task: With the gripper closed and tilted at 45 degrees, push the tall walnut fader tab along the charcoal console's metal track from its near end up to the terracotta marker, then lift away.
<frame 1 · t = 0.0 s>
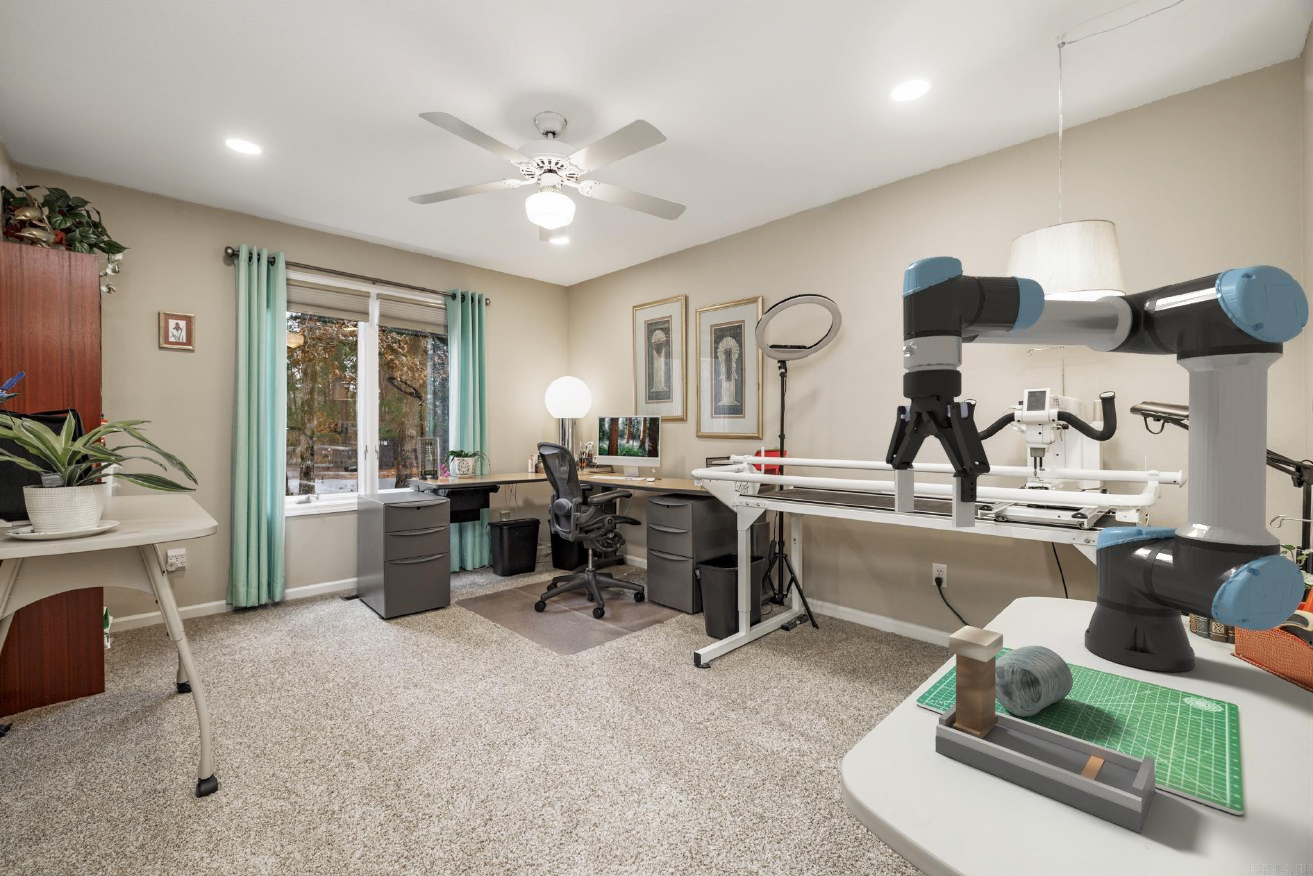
hand: (931, 518, 82), 28 cm above the table, fingers open, 13 cm apart
fader: (975, 681, 74), point 8 cm above the table, slide at 0.0 cm
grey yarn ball: (1029, 706, 85), on the table
console: (1038, 770, 69), on the table
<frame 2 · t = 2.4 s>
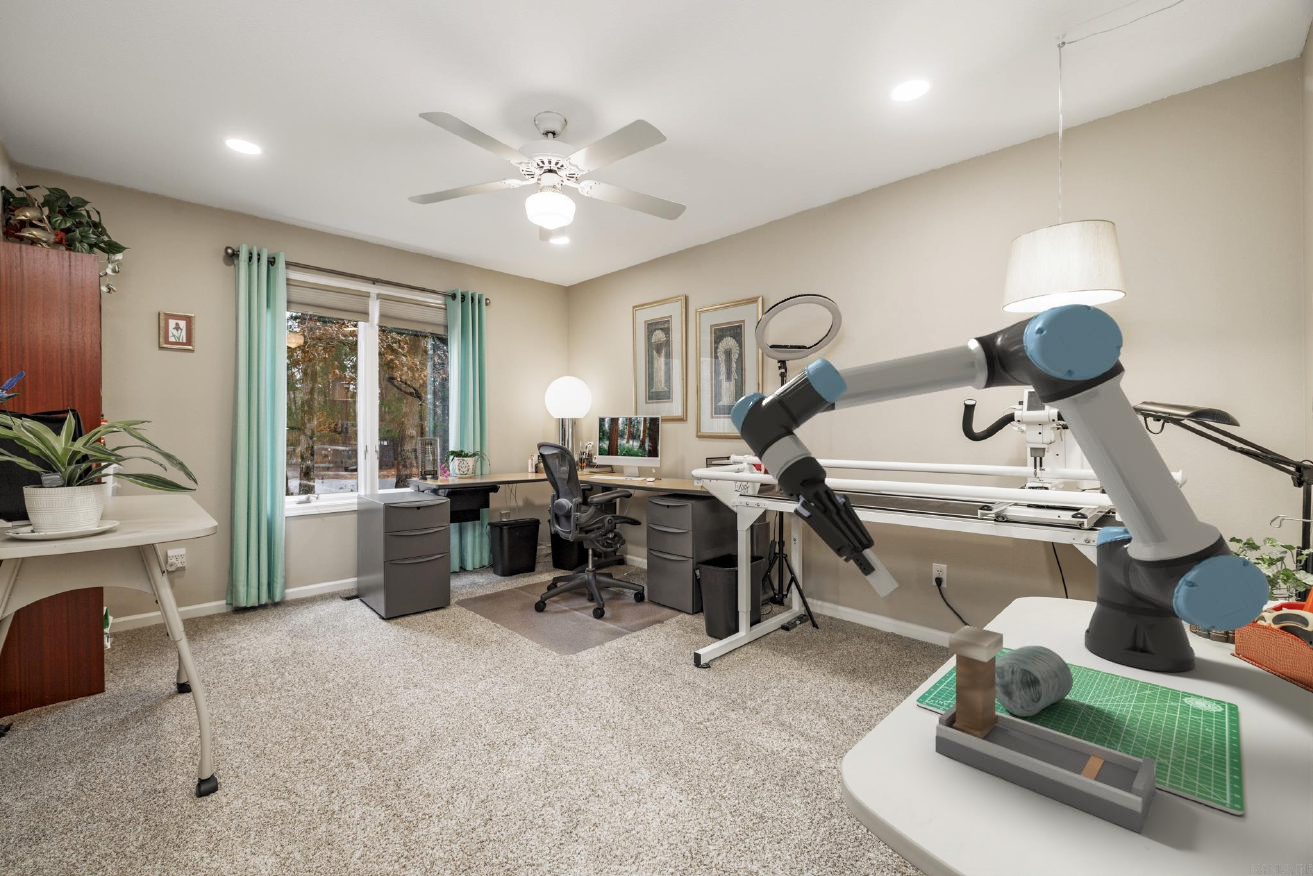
hand: (889, 591, 83), 17 cm above the table, fingers closed
nothing on the table moved.
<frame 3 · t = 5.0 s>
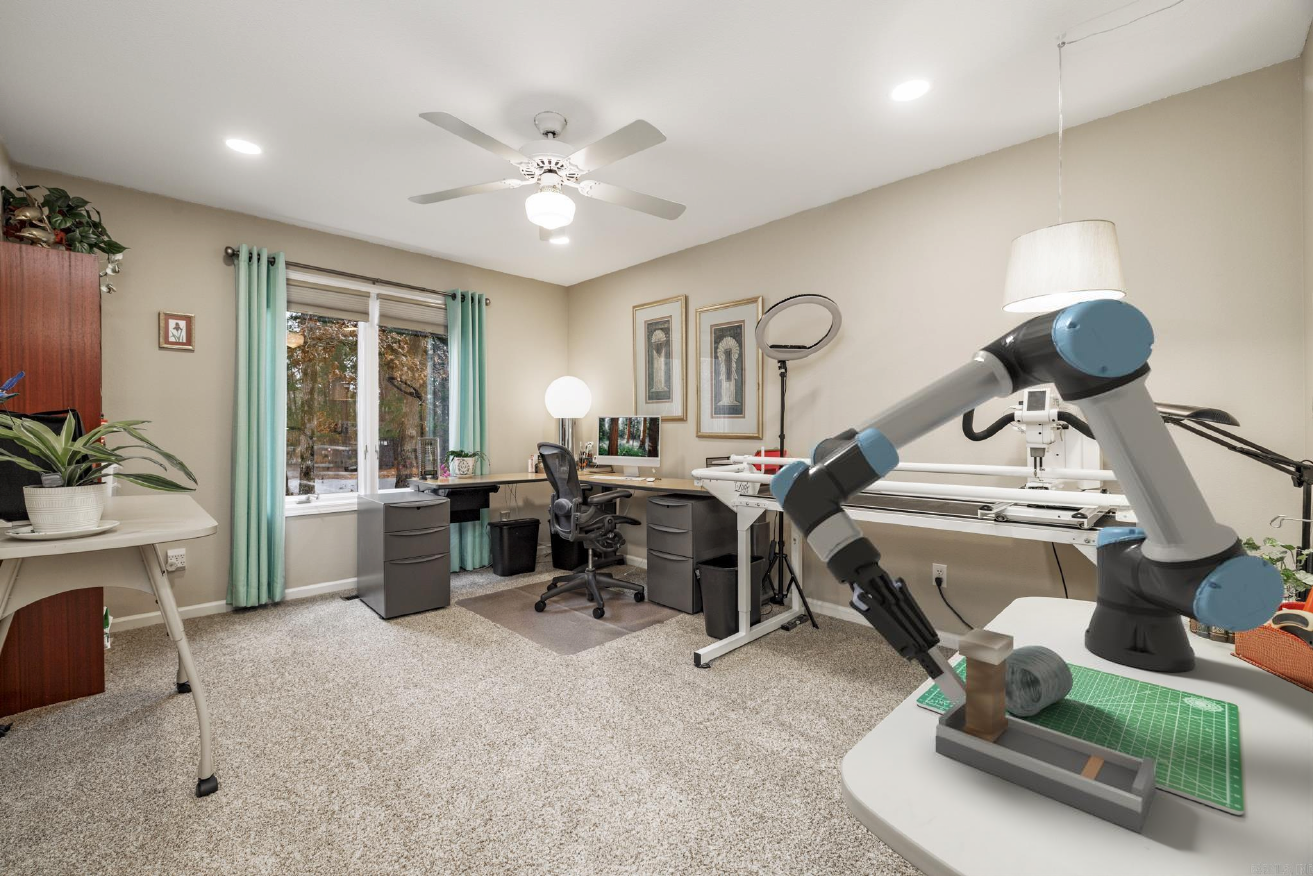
hand: (961, 697, 74), 6 cm above the table, fingers closed
fader: (985, 684, 73), point 8 cm above the table, slide at 1.2 cm, touching gripper
everything else where it was.
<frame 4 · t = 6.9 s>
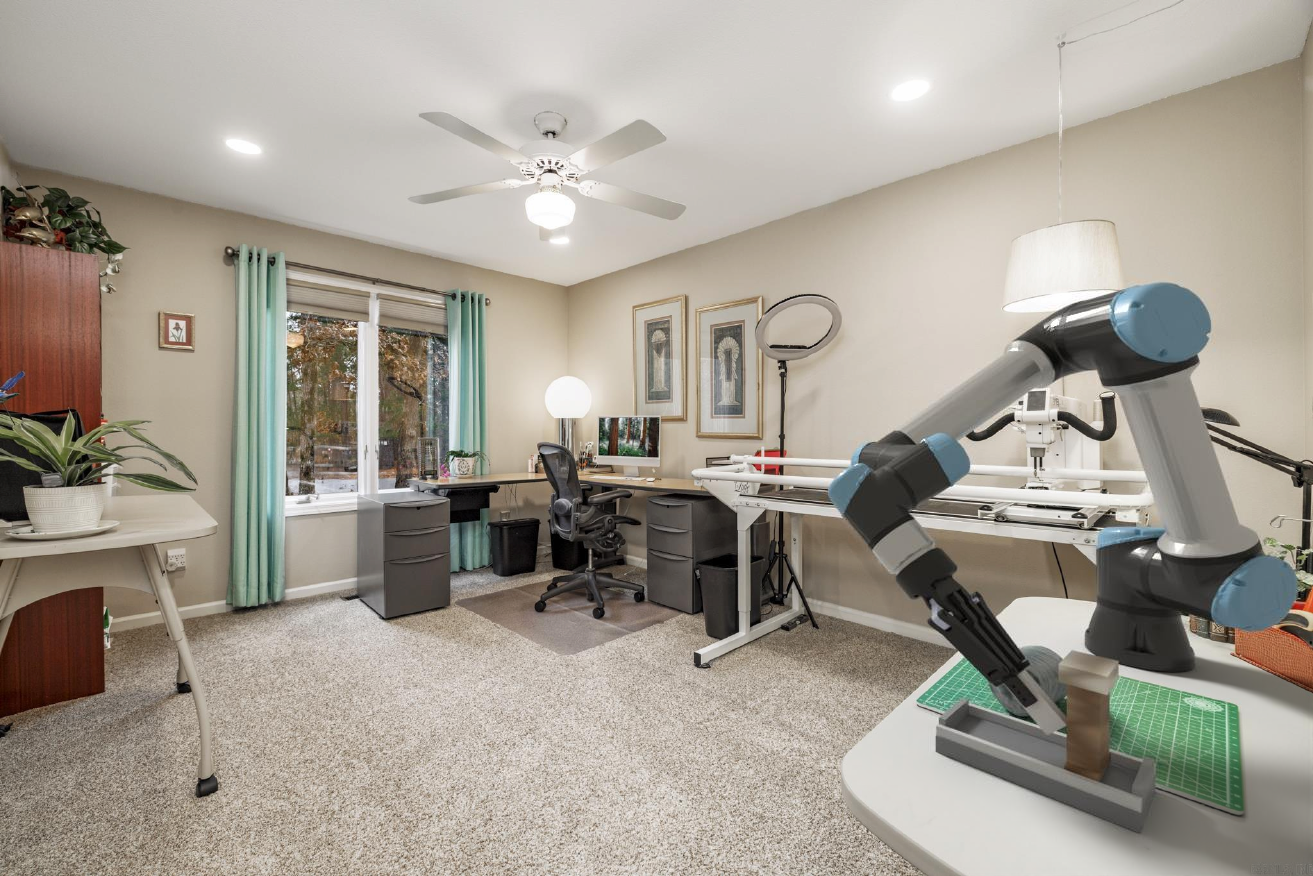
hand: (1058, 728, 67), 6 cm above the table, fingers closed
fader: (1088, 715, 65), point 8 cm above the table, slide at 11.8 cm, touching gripper
everything else where it was.
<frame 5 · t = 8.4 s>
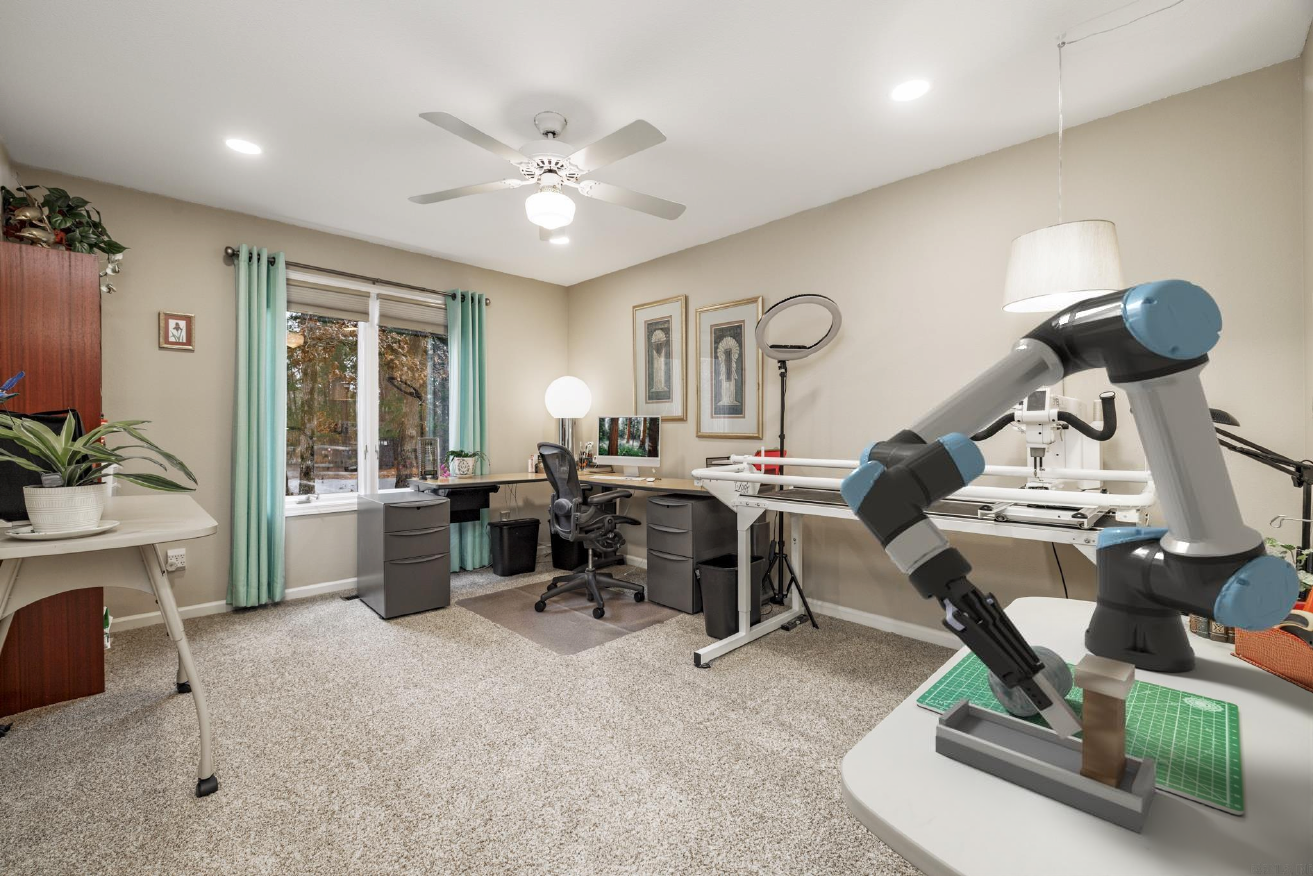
hand: (1073, 732, 66), 6 cm above the table, fingers closed
fader: (1104, 719, 64), point 8 cm above the table, slide at 13.2 cm, touching gripper
everything else where it was.
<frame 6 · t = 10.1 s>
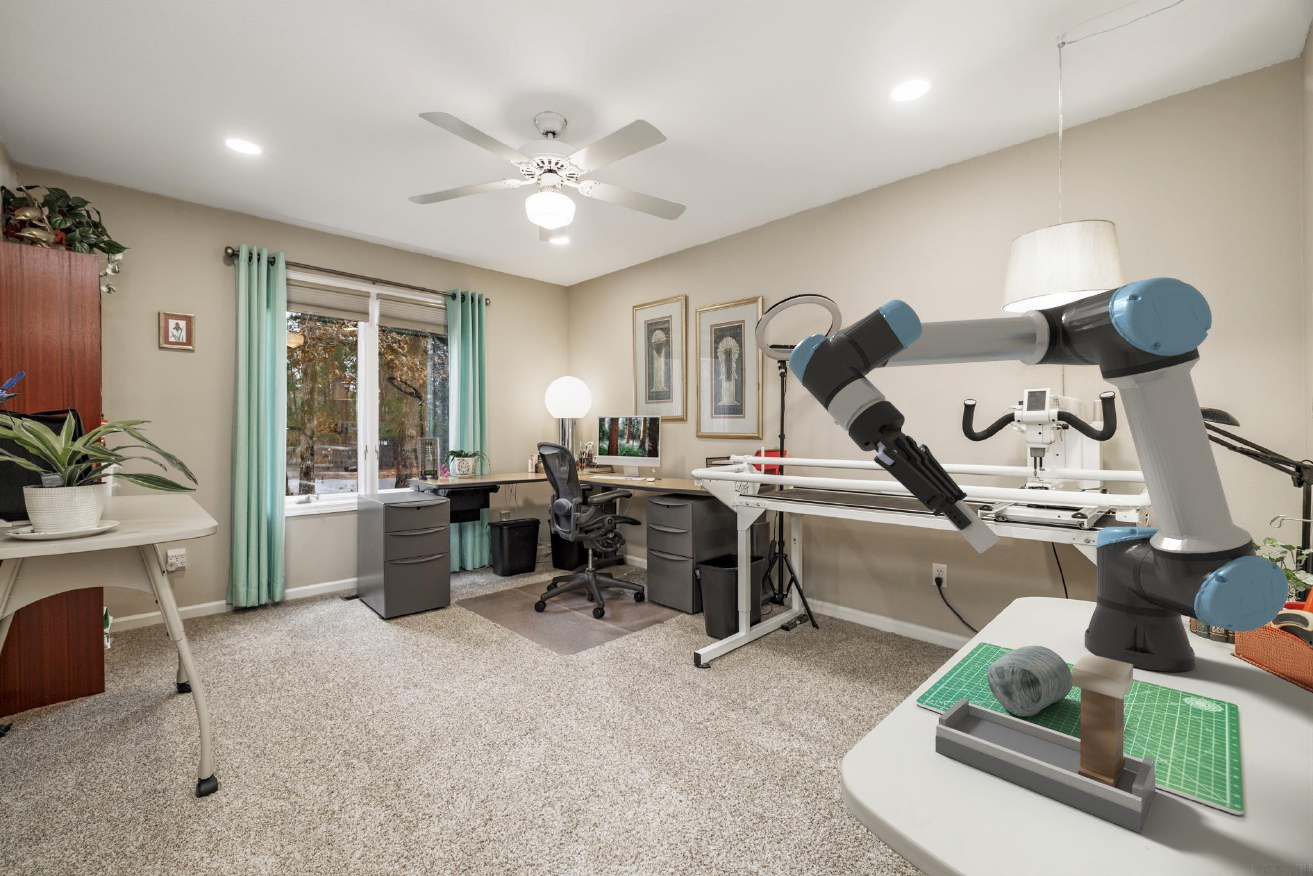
hand: (990, 546, 73), 26 cm above the table, fingers closed
fader: (1102, 719, 64), point 8 cm above the table, slide at 13.0 cm
everything else where it was.
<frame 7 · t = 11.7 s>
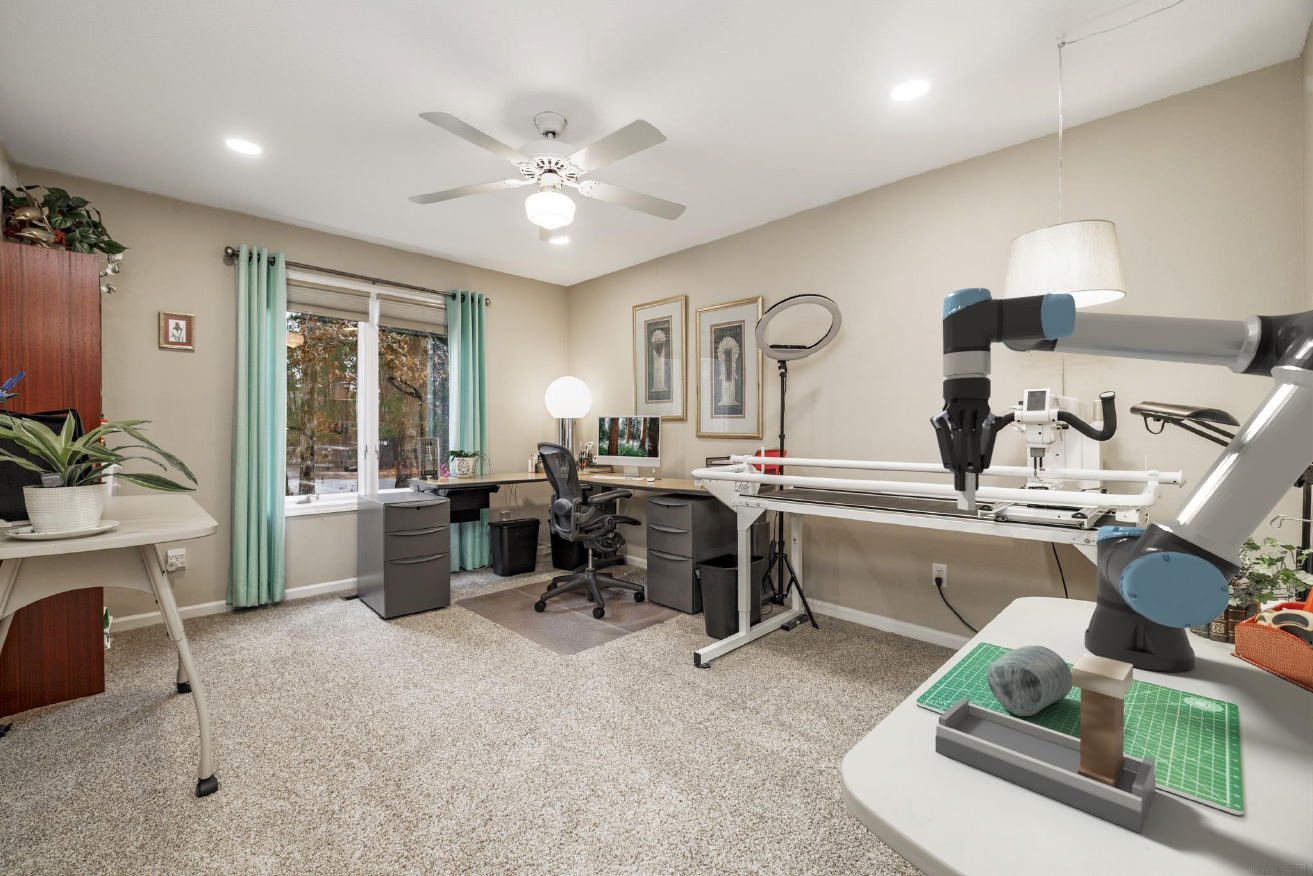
hand: (966, 509, 103), 26 cm above the table, fingers closed
nothing on the table moved.
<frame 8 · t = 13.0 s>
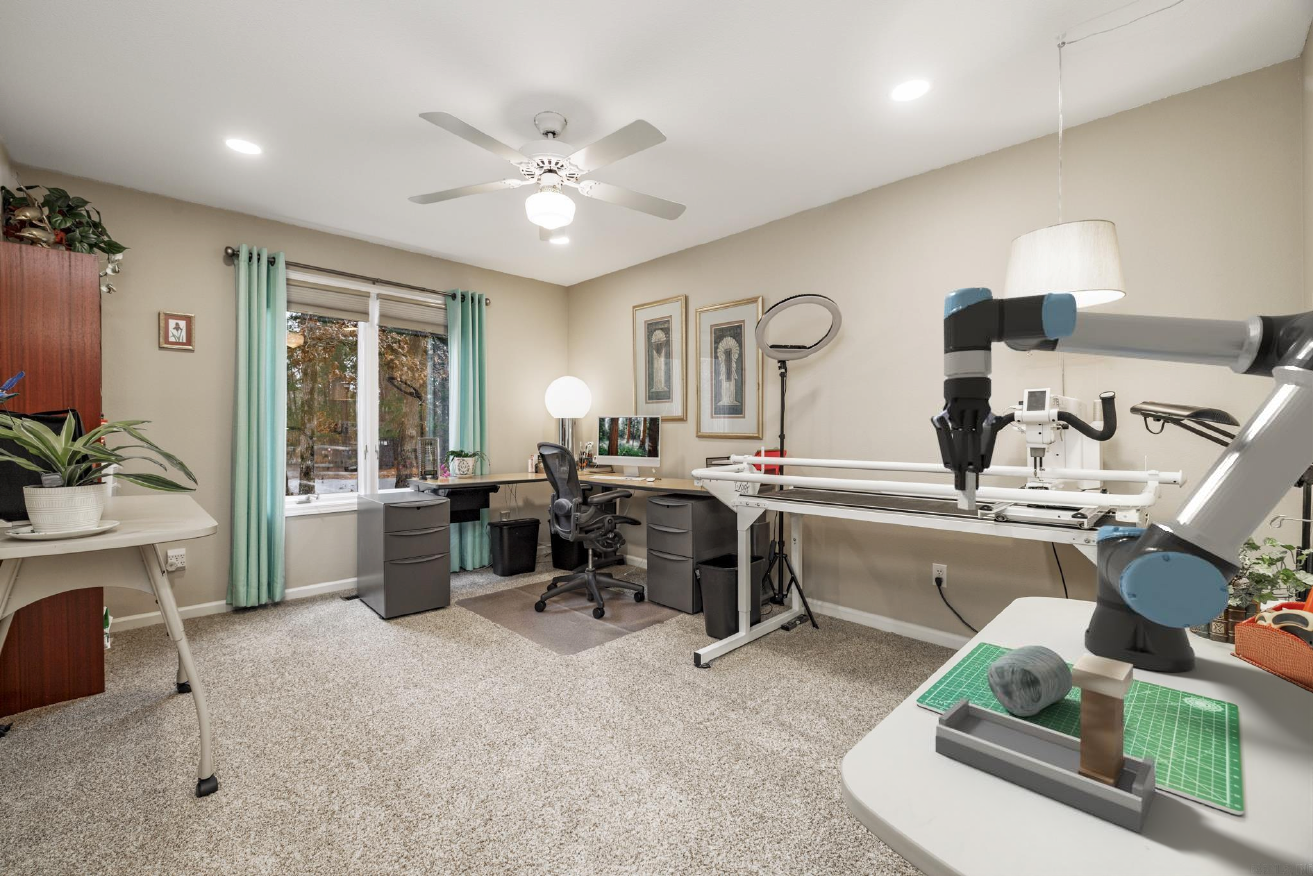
hand: (966, 508, 103), 26 cm above the table, fingers closed
nothing on the table moved.
at the end: fader slide at 13.0 cm; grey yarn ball moved 0.3 cm from its start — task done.
